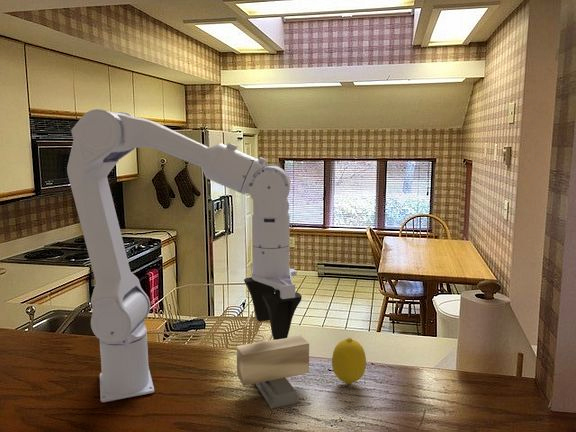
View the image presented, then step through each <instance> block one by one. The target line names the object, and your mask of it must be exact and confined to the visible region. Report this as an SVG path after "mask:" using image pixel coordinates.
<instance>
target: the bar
mask: <svg viewBox="0 0 576 432" xmlns="http://www.w3.org/2000/svg"><path fill="white" fill-rule="evenodd" d="M309 373H310V343H309V342H308V341H307V340H306V339H305V338H304V337H303V336H302V335H294V336H288V337H287V338H284V339H278V340H275V339H270V340H269V339H268V340H265V341H259V342H251V343H246V344H240V345H236V376H237V378H238V380H239V381H240V383H241V384H242V386H249V385H255V383H260V382H265V381H270V380H275V379H280V378H290V377H295V376H300V375H305V374H309Z"/></svg>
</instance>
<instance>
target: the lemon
mask: <svg viewBox="0 0 576 432" xmlns="http://www.w3.org/2000/svg"><path fill="white" fill-rule="evenodd" d="M365 352H366V351H365V350H364V348H363V346H362V345H361V343H360V342H359V341H357V340H355V339H352V338H351V337H347V338H346V339H343V340H340V341H339V342H338V343H337V344H335V347H334V349H333V352H332V357H331V366H332V369H333V373H334V375H335V376H336V377H337V379H338V380H340V381H341V382H343V383H345V384H346V385H349V386H350V385H351V384H353V383H356V382H357V381H359V380H361V378H362V377H363V376H364V374H365V371H366V367H367V357H366V353H365Z"/></svg>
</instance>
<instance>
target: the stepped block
mask: <svg viewBox="0 0 576 432" xmlns="http://www.w3.org/2000/svg"><path fill="white" fill-rule="evenodd" d="M254 385H255V386H256V388H257V389H258V391H259V392H260V393H261V395H262V397H263V398H264V399H265V402H267V404H268V406H269V407H270V408H271V409H276V408H280V407H284V406H289V405H295V404H298V403H300V397H299V395H298V394H297V391H296V389H295V387H293V385H292V384H291V383H290V382H289V381H288V379H287V377H285V378H280V379H275V380H270V381H265V382H260V383H255V384H254Z"/></svg>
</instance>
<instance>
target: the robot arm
mask: <svg viewBox="0 0 576 432" xmlns="http://www.w3.org/2000/svg"><path fill="white" fill-rule="evenodd" d="M70 132H71V135H72V140H73V141H72V144H71V150H70V153H69V159H68V162H67V167H66V170H67V171H66V173H67V176H68V180H69V184H70V188H71V192H72V197H73V199H74V200H73V201H74V203H75V207H76V212H77V216H78V219H79V224H80V226H81V230H82V234H83V238H84V243H85V246H86V248H87V250H86V251H87V254H88V258H89V261H90V265H91V269H92V272H93V277H94V280H95V281H94V282H95V285H94V288H93V292H92V294H91V297H90V304H91V308H92V314H91V318H90V327H91V330H92V332H93V334H94V336H95V337H96V338H97V339H98V340H99V351H100V353H99V354H100V366H101V367H100V368H101V372H100V373H99V390H100V392H99V393H100V402H101V403H107V402H114V401H118V400H123V399H127V398H133V397H138V396H143V395H148V394H153V393H155V387H154V383H153V379H152V375H151V371H150V366H149V353H148V351H149V349H148V334H147V333H148V330H147V326H146V325H145V319H146V318H147V316H148V315H149V314H150V311H151V301H150V298H149V296H148V294H147V293H146V292H145V291H144V289H143V288H142V286H141V283H140V279H139V278H138V276H136V275H135V274H134V273H133V272H132V271H131V268H130V264H129V260H128V257H127V255H128V254H127V252H126V249H125V244H124V240H123V239H124V238H123V236H122V232H121V227H120V224H119V219H118V216H117V212H116V208H115V203H114V199H113V196H112V191H111V188H110V184H109V179H108V176H109V174H110V173H111V171H112V170H113V169H114V167H115V166H116V165H117V164H118V162H119V160H121V159H122V158H124V157H125V156H126V155H128V154H130V153H131V152H133V151H134V150H135V149H137V148H138V149H139V148H152V149H154V150H158V151H160V152H162V153H165V154H167V155H169V156H173V157H175V158H177V159H181V160H183V161H185V162H188V163H190V164H193V165H196V166H198V167H200V168H201V170H202V172H203V174H204V177H205V178H206V179H208V180H209V181H212V182H213V183H216V184H219V185H222V186H223V187H224V188H225V187H226V188H227V189H231V190H233V191H235V192H237V193H239V194H242V195H246V194H249V196H250V198H251V200H252V201H253V202H252V207H253V208H252V211H253V214H252V215H251V227H252V228H251V229H252V230H251V231H252V234H251V235H252V237H251V238H252V240H251V241H252V244H251V245H252V261H251V262H250V273H251V277H246V278H244V280H243V282H244V284H245V285H246V287H247V289H248V292H249V295H250V298H251V301H252V305H253V309H254V314H255V318H256V320H257V322H259V323H260V322H261V323H262V322H268V321H269V322H270V323H269V324H270V330H271V331H270V332H271V336H272V338H273V340H278V339H284V338H287V337H289V332H290V328H291V325H292V320H293V317H294V315H295V312H296V310H297V308H298V306H299V305H300V303H301V302H302V299H303V297H302V294H300V293H299V292H296V284H294V282H293V277H295V276H297V270H296V269H294V268H291V267H290V260H291V257H290V256H291V255H290V251H291V249H290V247H291V246H290V243H291V242H290V241H291V240H290V239H291V238H290V237H291V236H290V235H291V233H290V229H291V228H290V227H291V224H290V223H291V222H290V219H291V218H290V213H289V210H290V203H289V199H288V197H289V195H290V190H291V180H290V177H289V175H288V173H287V172H286V171H285V170H284V169H283V168H282V167H280V166H279V165H278V164H276V163H269V164H266V162H267V159H266V158H264V157H262V156H260V157H259V158H255V157H254V156H252V155H249V154H247V153H245V152H242V151H240V150H238V145H236V144H234V143H232V142H228V143H227V145H226V144H224V143H221V142H220V143H217V144H214V145H212V146H210V147H209V146H207V145H205V144H203V143H201V142H198V141H197V140H194V139H193V138H190V137H188V136H186V135H183V134H182V133H180V132H177V131H176V130H173V129H171V128H169V127H167V126H165V125H162V124H160V123H159V122H156V121H154V120H150V119H147V118H143V117H139V116H134V115H132V114H130V113H127V112H124V111H123V112H122V111H120V112H115V111H108V110H106V109H99V108H98V109H97V108H96V109H95V108H94V109H91V110H88V111H87V112H85V113H84V114H83V115H82V116H81V117H80V118H79V119H78V121H77V122H76V123H75V125H74V126H73V127H72V128H71V129H70Z"/></svg>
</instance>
